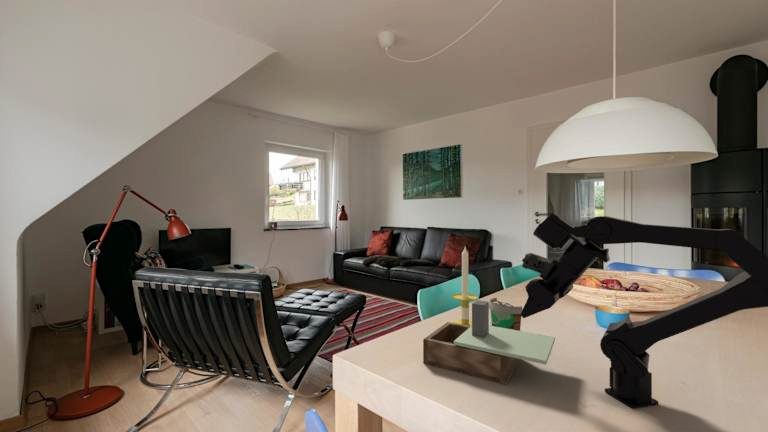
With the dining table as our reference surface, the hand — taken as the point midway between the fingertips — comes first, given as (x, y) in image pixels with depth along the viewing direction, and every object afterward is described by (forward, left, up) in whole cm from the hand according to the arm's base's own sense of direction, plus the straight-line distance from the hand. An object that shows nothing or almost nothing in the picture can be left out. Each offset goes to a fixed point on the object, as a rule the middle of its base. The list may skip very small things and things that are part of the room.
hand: (528, 312), depth 81 cm
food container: (+22, -6, -14) cm, 27 cm away
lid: (+2, +5, -7) cm, 9 cm away
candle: (+32, +1, -14) cm, 35 cm away
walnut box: (+7, +11, -14) cm, 19 cm away
